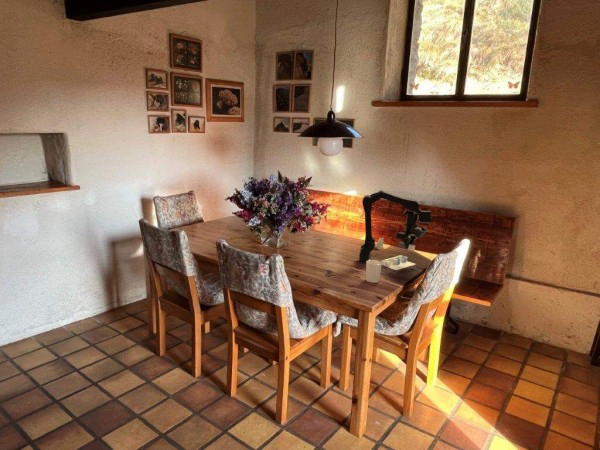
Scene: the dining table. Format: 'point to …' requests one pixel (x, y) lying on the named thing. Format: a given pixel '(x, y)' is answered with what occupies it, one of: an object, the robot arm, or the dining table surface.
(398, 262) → the backplate with stepped blocks
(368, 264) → the white cup
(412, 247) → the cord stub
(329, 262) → the dining table surface
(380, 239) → the architectural model
